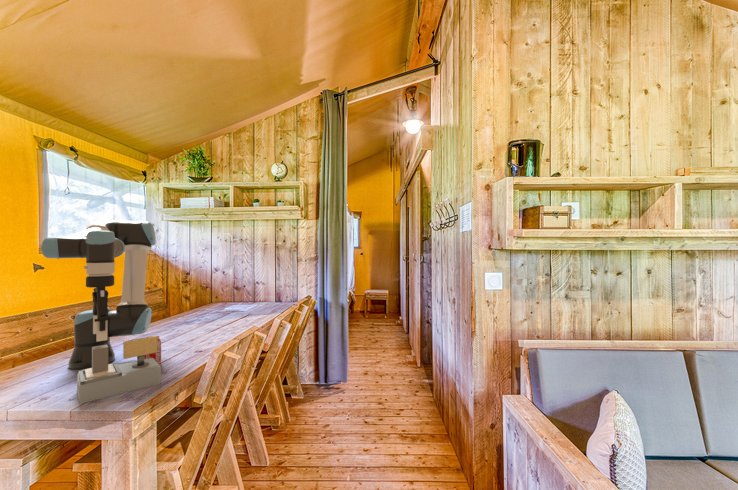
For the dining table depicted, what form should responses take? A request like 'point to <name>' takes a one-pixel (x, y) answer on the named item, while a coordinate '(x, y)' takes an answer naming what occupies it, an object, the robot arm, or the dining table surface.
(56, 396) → the dining table surface
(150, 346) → the tan sign on stand
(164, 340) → the dining table surface
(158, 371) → the case
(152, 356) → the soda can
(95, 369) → the cover
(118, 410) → the dining table surface
